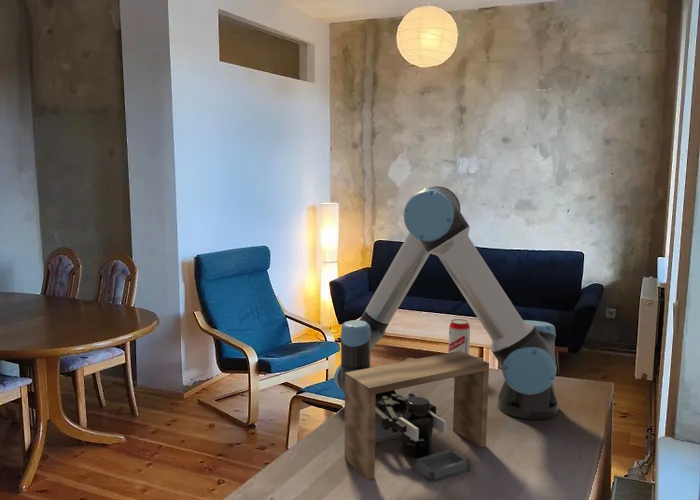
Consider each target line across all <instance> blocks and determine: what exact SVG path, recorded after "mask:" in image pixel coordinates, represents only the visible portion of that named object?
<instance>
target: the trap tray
mask: <svg viewBox="0 0 700 500" xmlns="http://www.w3.org/2000/svg"><path fill="white" fill-rule="evenodd" d="M413 470H414V471H415V472H417V474H419V475H420V476H422V477H423V478H424V479H426V480H427V481H428V482H429V483H431V484H432V483H434V482H438V481H441V480H444V479H446V478H450V477H454V476H457V475H460V474H463V473H466V472H470V471H471V460H470V459H468V458H467V457H465V456H464V455H462V454H460V453H459V452H458V451H456V450H455V449H453V448H450V449H447V450H444V451H443V450H442V451H440V452H437V453H434V454H430V455H429V456H425V457H422V458H418V459H416V458H414V459H413Z"/></svg>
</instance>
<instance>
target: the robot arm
mask: <svg viewBox="0 0 700 500" xmlns="http://www.w3.org/2000/svg"><path fill="white" fill-rule="evenodd" d="M461 212H462V211H461V203H460V200H459V197H457V195H456V193H454V191H452V190H450V189H449V188H447V187H444V186H438V185H437V186H431V187H427V188H423V189H420V190H418V191H417V192H415V193H414V194H413V195H412V196H410V198H409V199H408V201H407V202H406V204H405V207H404V211H403V221H404V225H405V227H406V229H407V231H408V234H407V236H406V238H405V239H404V241H403V243H402V244H401V246H400V248H399V250H398V252H397V253H396V255H395V257H394V259H393V260H392V262H391V264H390V265H389V267H388V270H387V271H386V273H385V274H384V276H383V278H382V280H381V281H380V283H379V285H378V287H377V288H376V290H375V292H374V294H373V295H372V297H371V299H370V301H369V303H368V305H367V306H366V308H365V310H364V312H363V313H362V315H361V316H360V318H359V319H358V320H356V319H354V320H348V321H344V322H343V323H342V324H341V330H340V335H339V336H340V360H341V361H340V365H339V366H338V367H337V368H336V371H335V373H334V374H333V375H334V376H333V379H334V383H335V385H336V386H337V388H339V389H340V391H341V392H342V393H343V394H345V373H346V372H351V371H356V370H362V369H367V368H371V350H372V349H373V348H374V347H375V346H376V344H377V343H378V342H379V341H381V340H382V338H383V336H384V335H385V333H386V330H387V328H388V326H389V324H390V322H391V321H392V319H393V317H394V316H395V314H396V312H397V311H398V310H399V307H400V306H401V304H402V302H403V300H404V299H405V297H406V295H407V294H408V292H409V290H410V289H411V287H412V285H413V284H414V282H415V281H416V279H417V277H418V275H419V274H420V271H421V270H422V268H423V267H424V265H425V263H426V261H427V260H428V258H429V257H430V255H435V256H437V257H438V259H439V260H440V262H441V264H442V265H443V266H444V268H445V270H446V271H447V273H448V274H449V276H450V278H451V279H452V280H453V283H455V285H456V286H457V288H458V289H459V291H460V293H461V294H462V296H463V297H464V299H465V300H466V302H467V304H468V305H469V306H470V308H471V309H472V312H473V313H474V315H475V316H476V317H477V319H478V320H479V322H480V323H481V325H482V327H483V328H484V330H485V331H486V332H487V335H488V336H489V338H490V339H491V345H490V351H491V352H492V354H493V355H494V357H495V359H496V360H497V362H498V364H499V365H500V367H501V371H502V376H503V378H504V381H503V383H502V386H501V389H500V391H499V394H498V396H497V407H498V408H499V409H500V411H502V412H503V413H505V414H508V415H509V416H512V417H514V418H515V417H516V418H519V419H526V420H547V419H551V418H553V417H555V416H556V415H557V414H558V413H559V400H558V397H557V393H556V388H555V386H554V380H555V378H556V375H557V370H558V369H557V367H558V366H557V361H556V353H555V352H556V351H555V345H556V343H555V341H556V337H557V333H556V327H555V325H554V324H552V323H551V322H550V323H549V322H546V321H539V320H527V319H523V318H522V316H521V315H520V314H519V312H518V311H517V309H516V308H515V306H514V303H512V300H511V299H510V298H509V297H508V295H507V293H506V292H505V291H504V289H503V288H502V286H501V285H500V283H499V281H498V280H497V278H496V277H495V275H494V273H493V272H492V270H491V268H490V267H489V266H488V264H487V263H486V261H485V260H484V258H483V256H481V253H480V252H479V251H478V248H477V247H476V246H475V245H474V242H473V241H472V239H470V237H469V233H470V228H471V227H470V224H469V223H468V222H467V220H466V218H465V217H464V215H463V214H462V213H461ZM412 397H417V396H416V395H415V394H414V393H408V396H403V395H401V394H397V393H396V390H392V391H387V392H382V393H378V394H375V422H377V423H378V424H379V425H380V426H381V427H382V428H383V429H385V430H388V429H389V427H392V432H397V430H398V431H400V432H402V433H404V434H406V435H407V436H409V437H410V438H412V439H413V440H414V441H418V438H419V428H417V427H416V426H414V425H413V424H411V423H410V422H408V421H407V420H405V419H404V418H402V416H399V420H397V416H396V415H397V414H396V413H399V414H401V415H403V413H404V412H405V411H406V410H408V409H407V401H408V399H409V398H412ZM429 412H431V414H432V415H433V429H435V430H437V431H438V432H440V433H441V434H446V433H447V429H448V428H447V427H448V425H447V423H448V421H447V420H445V419H444V418H442V417H441V416H440V415H438V414H437V406H436V405H434V404H432V403H431V402H429Z"/></svg>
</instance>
